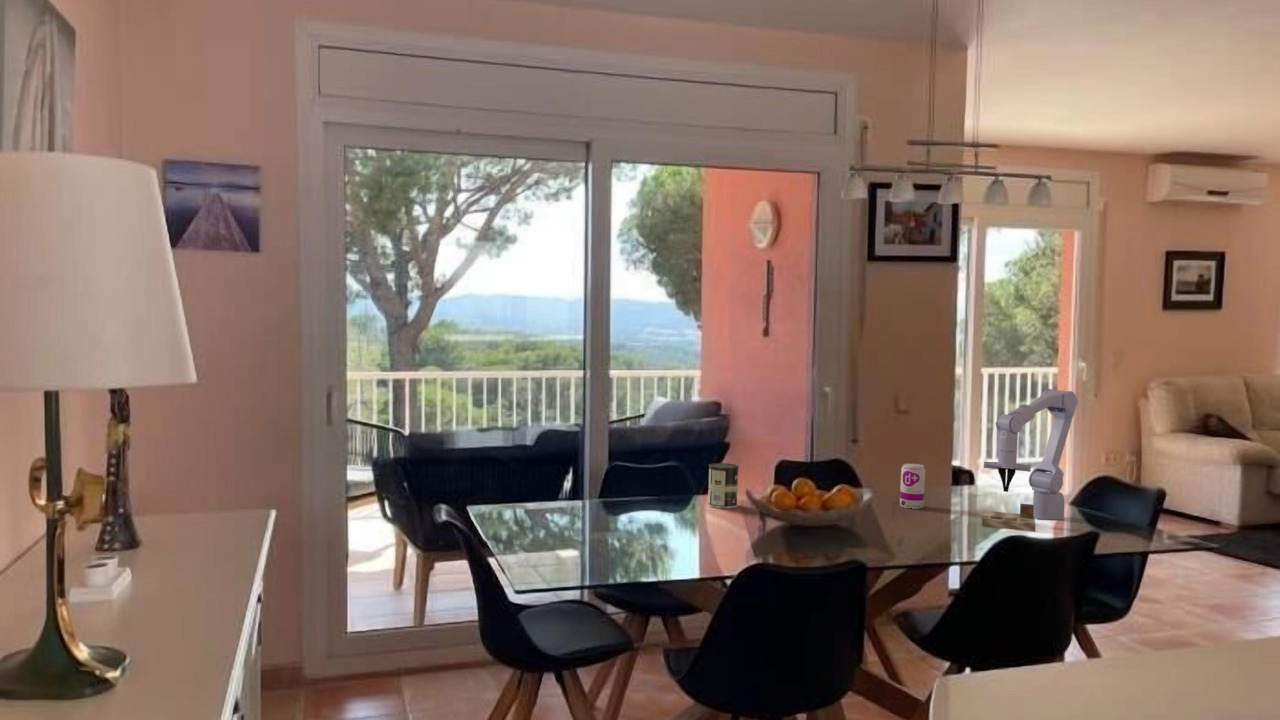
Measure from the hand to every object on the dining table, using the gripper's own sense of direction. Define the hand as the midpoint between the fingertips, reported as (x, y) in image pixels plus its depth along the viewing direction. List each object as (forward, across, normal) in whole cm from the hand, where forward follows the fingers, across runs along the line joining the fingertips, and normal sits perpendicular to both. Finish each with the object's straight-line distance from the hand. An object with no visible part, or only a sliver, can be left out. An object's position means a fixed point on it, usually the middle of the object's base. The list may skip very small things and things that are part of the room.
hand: (1005, 491), depth 318 cm
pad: (+10, +7, -1) cm, 12 cm away
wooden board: (+10, +1, -4) cm, 11 cm away
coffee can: (+10, -91, -21) cm, 94 cm away
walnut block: (+8, +7, -1) cm, 10 cm away
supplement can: (+10, -30, +10) cm, 34 cm away
